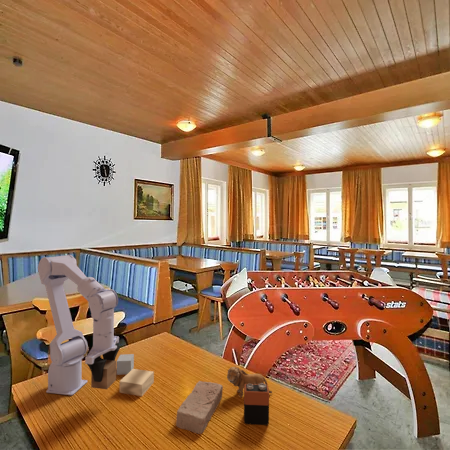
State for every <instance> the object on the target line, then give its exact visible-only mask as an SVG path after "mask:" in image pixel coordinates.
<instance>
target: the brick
mask: <svg viewBox="0 0 450 450" xmlns="http://www.w3.org/2000/svg"><path fill="white" fill-rule="evenodd" d="M223 387H224V386H223V385H222V384H220V383H218V382H211V381H201V380H198V382H196V384H195V385H194V387H193V389H192V390H191V392H190V393H189V394H188V396H187V397H186V399H184V400H183V402H182V403H181V404H180V406H179V407H178V409H177V410H176V411H177V412H176V422H175V426H176V427H177V428H179V429H182V430H187V431H190V432H192V433H195V434H199V435H201V434H203V433H204V432H205V430H206V429H207V427H208V424H209V422H210V421H211V419H212V416H213V415H214V413H215V411H216V410H217V408H218V406H219V404H220V402H221V400H222V397H223V390H224V389H223Z"/></svg>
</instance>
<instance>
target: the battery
mask: <svg viewBox="0 0 450 450" xmlns="http://www.w3.org/2000/svg"><path fill="white" fill-rule="evenodd" d="M268 388H269V384H268V385H266V384H265V383H264V384H263V383H260V384H245V385H244V389H243V396H244V397H243V423H244V424H245V425H255V426H256V425H258V426H261V425H262V426H268V425H269V424H270V393H269V390H270V389H269V390H268Z"/></svg>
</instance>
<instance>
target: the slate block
mask: <svg viewBox="0 0 450 450" xmlns="http://www.w3.org/2000/svg"><path fill="white" fill-rule="evenodd" d="M134 364H135V354H134V353H130V354H129V353H128V354H126V353H124V354H119V356H118V358H117V360H116V376H118V375H119V376H120V375H121V376H122V375H127V374H128V373H129V372H130V371H131V370H132V369H135V368H134V367H135V365H134Z"/></svg>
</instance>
